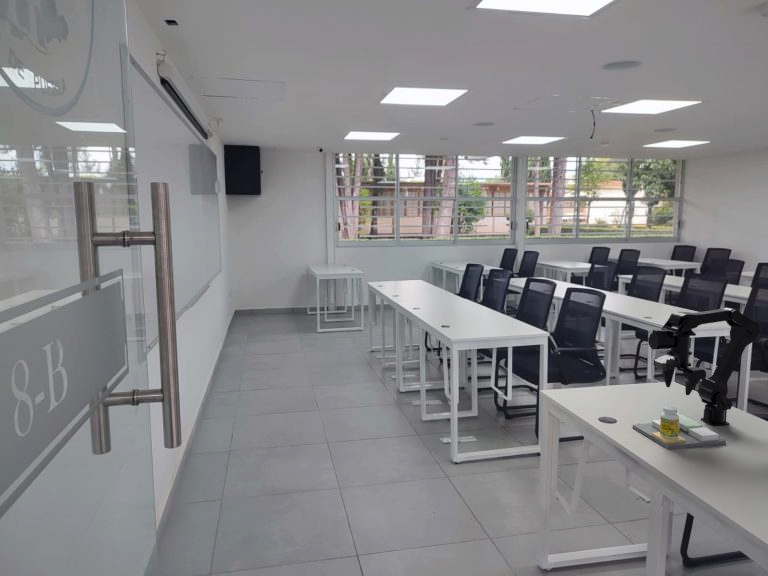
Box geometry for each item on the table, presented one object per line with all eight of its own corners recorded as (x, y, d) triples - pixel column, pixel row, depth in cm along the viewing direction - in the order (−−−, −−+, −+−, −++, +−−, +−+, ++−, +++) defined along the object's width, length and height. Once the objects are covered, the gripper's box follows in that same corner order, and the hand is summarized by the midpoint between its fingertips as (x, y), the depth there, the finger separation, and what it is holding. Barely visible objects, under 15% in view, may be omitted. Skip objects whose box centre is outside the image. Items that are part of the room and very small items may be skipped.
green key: (676, 420, 190) (677, 412, 189) (701, 433, 178) (702, 425, 178) (661, 421, 189) (662, 413, 189) (686, 434, 177) (686, 426, 177)
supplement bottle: (679, 435, 173) (681, 407, 172) (676, 440, 169) (678, 412, 168) (661, 431, 176) (663, 404, 175) (658, 436, 172) (659, 408, 171)
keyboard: (685, 423, 188) (686, 415, 188) (725, 443, 171) (726, 435, 170) (632, 427, 185) (632, 419, 185) (667, 449, 167) (668, 440, 167)
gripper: (641, 343, 191) (639, 385, 193) (680, 356, 173) (677, 401, 175) (667, 341, 194) (665, 382, 196) (708, 353, 175) (706, 398, 177)
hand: (677, 391), depth 186 cm, fingers open, 9 cm apart
